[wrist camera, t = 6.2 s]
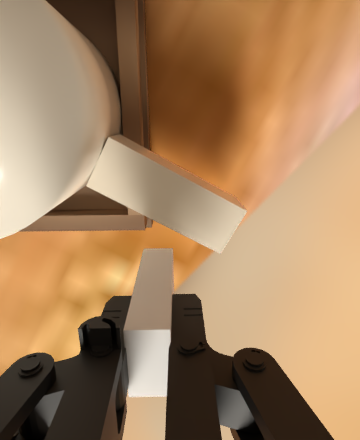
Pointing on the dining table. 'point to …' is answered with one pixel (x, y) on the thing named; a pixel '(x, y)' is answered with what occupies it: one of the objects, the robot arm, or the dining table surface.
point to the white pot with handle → (84, 135)
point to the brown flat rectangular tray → (130, 102)
